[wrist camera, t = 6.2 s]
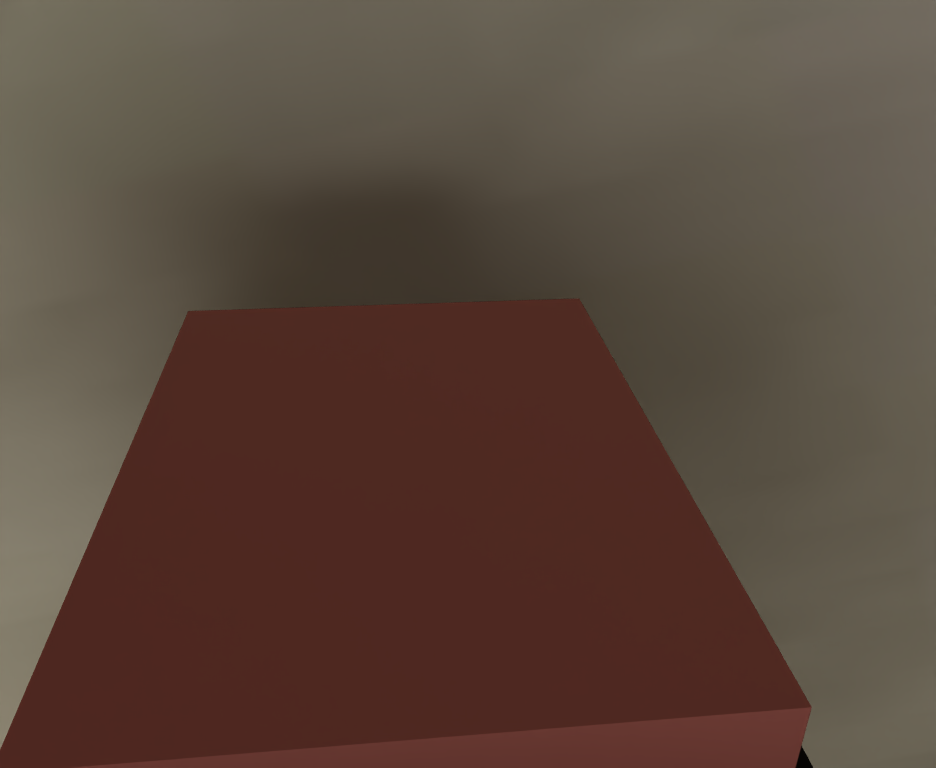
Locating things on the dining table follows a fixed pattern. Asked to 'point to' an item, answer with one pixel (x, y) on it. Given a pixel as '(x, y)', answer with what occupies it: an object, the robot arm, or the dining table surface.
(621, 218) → the dining table surface
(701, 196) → the dining table surface
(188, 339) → the red block with stripe
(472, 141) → the dining table surface
